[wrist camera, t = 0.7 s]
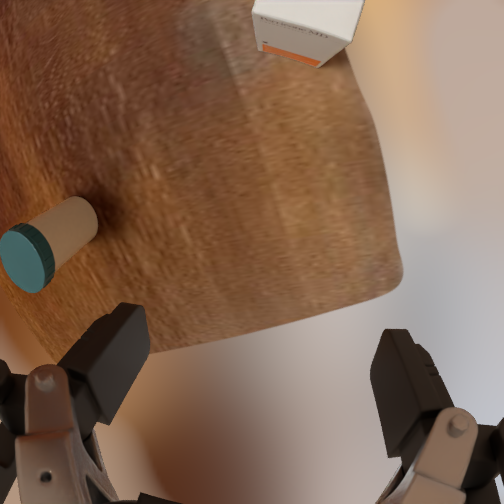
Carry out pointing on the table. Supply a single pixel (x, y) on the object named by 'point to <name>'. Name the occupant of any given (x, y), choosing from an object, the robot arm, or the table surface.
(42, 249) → the jam lid
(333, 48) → the cosmetic box
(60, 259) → the white jar
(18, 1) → the table surface
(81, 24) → the table surface
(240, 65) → the table surface
